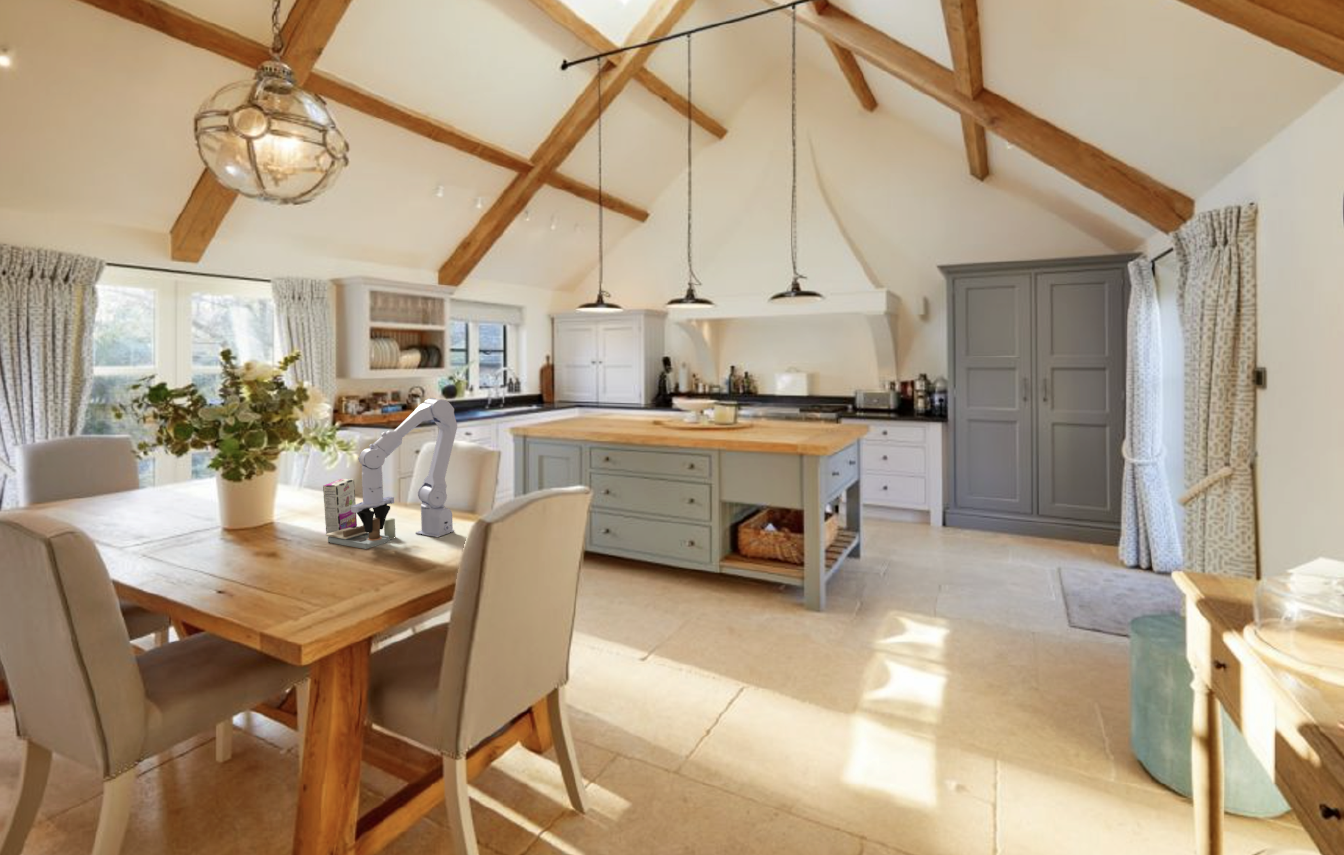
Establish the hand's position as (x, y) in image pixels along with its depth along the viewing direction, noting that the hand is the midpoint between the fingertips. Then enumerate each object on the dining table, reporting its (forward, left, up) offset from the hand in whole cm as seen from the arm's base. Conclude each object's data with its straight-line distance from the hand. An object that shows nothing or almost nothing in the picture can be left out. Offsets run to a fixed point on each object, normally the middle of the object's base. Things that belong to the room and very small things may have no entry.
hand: (374, 530), depth 202 cm
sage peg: (0, -6, -4) cm, 7 cm away
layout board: (+5, +2, -4) cm, 6 cm away
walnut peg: (0, 0, -2) cm, 2 cm away
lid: (+10, +2, -2) cm, 10 cm away
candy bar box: (+21, -5, -4) cm, 22 cm away
